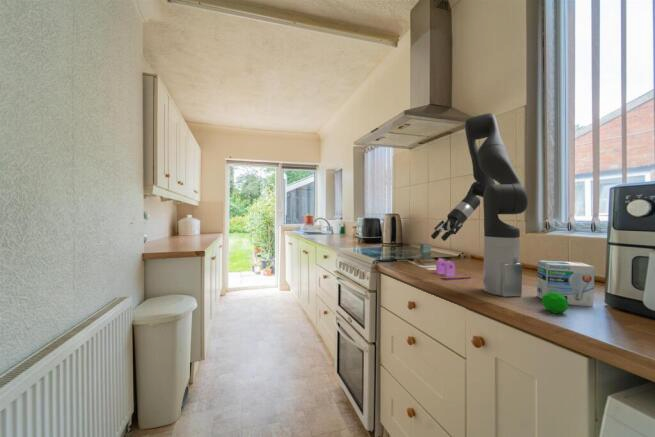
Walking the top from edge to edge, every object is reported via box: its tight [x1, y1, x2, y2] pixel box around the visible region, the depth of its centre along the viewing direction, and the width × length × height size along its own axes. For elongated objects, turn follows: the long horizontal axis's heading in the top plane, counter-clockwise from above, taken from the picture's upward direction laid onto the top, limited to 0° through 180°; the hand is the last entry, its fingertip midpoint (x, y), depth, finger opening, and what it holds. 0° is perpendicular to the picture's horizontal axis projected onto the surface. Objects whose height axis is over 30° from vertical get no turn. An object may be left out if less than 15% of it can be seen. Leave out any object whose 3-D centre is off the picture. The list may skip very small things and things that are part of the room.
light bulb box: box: [536, 259, 596, 307], centre depth 76 cm, size 11×7×11 cm, turn 73°
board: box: [407, 260, 436, 271], centre depth 121 cm, size 20×11×2 cm, turn 9°
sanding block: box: [413, 243, 438, 266], centre depth 124 cm, size 10×6×9 cm, turn 9°
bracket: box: [435, 258, 472, 281], centre depth 103 cm, size 13×6×7 cm, turn 108°
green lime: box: [541, 292, 569, 314], centre depth 67 cm, size 5×5×5 cm
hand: (437, 238), depth 125 cm, fingers open, 8 cm apart
